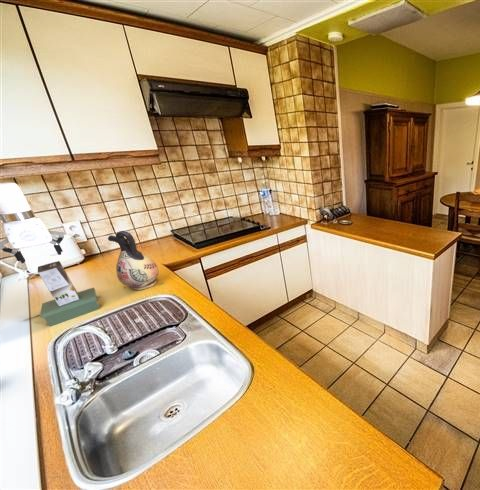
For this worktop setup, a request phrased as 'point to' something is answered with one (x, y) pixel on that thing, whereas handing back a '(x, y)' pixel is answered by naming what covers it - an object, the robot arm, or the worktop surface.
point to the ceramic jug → (133, 263)
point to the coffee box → (58, 283)
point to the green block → (70, 308)
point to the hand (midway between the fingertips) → (42, 257)
